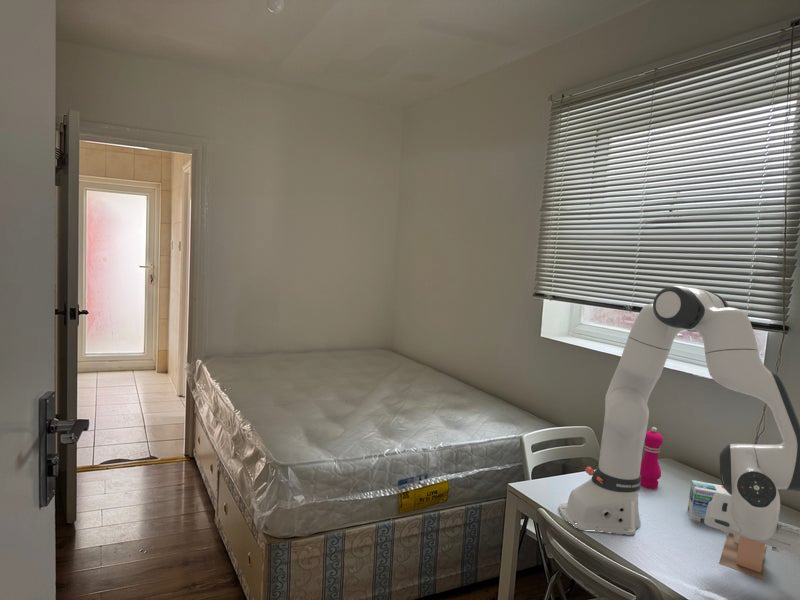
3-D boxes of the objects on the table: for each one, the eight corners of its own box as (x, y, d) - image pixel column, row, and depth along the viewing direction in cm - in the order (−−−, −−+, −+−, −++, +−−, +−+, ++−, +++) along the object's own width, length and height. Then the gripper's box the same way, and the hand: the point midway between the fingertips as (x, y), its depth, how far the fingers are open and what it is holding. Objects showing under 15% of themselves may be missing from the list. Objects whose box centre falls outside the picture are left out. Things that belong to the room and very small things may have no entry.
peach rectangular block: (760, 572, 131) (765, 541, 130) (735, 563, 134) (740, 533, 134) (762, 563, 135) (766, 533, 135) (738, 554, 139) (742, 525, 138)
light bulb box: (689, 523, 156) (694, 488, 154) (686, 513, 162) (690, 478, 161) (731, 532, 152) (736, 496, 151) (726, 521, 158) (731, 486, 157)
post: (744, 545, 143) (748, 520, 143) (733, 541, 145) (736, 517, 144) (745, 541, 145) (749, 517, 145) (734, 538, 147) (737, 513, 146)
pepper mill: (663, 490, 176) (670, 431, 174) (641, 489, 176) (648, 430, 174) (653, 480, 184) (660, 424, 181) (632, 479, 184) (638, 422, 181)
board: (761, 582, 129) (763, 565, 128) (718, 567, 134) (720, 550, 134) (766, 549, 144) (768, 533, 144) (727, 536, 149) (729, 521, 149)
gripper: (812, 521, 118) (806, 544, 127) (706, 491, 130) (708, 514, 139) (809, 549, 115) (803, 571, 124) (701, 515, 127) (703, 537, 136)
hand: (752, 540), depth 131 cm, fingers open, 8 cm apart
